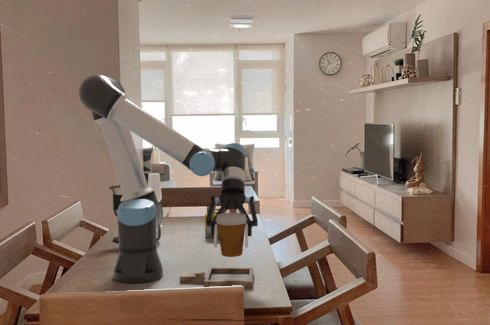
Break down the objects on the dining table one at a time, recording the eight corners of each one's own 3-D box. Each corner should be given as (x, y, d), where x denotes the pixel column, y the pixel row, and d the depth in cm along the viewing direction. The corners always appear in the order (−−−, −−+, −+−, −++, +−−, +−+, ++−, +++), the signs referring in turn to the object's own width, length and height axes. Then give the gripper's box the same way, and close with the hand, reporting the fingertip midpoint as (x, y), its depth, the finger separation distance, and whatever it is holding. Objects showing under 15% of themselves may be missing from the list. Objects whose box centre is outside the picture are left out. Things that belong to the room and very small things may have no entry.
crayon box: (205, 237, 217) (204, 209, 216) (207, 235, 219) (207, 208, 218) (222, 238, 215) (221, 210, 214) (224, 236, 218) (223, 209, 217)
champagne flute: (144, 226, 237) (143, 174, 235) (154, 224, 243) (153, 172, 241) (155, 228, 234) (154, 175, 231) (165, 225, 239) (164, 173, 237)
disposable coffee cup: (244, 259, 154) (243, 219, 153) (212, 257, 156) (211, 218, 155) (250, 250, 163) (249, 212, 162) (220, 249, 165) (219, 211, 164)
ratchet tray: (176, 287, 154) (176, 279, 153) (184, 273, 168) (184, 266, 167) (252, 288, 153) (252, 280, 153) (253, 273, 167) (253, 266, 167)
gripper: (266, 190, 173) (266, 251, 158) (201, 191, 173) (196, 251, 159) (265, 176, 167) (266, 238, 152) (199, 177, 168) (193, 238, 153)
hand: (230, 244), depth 156 cm, fingers closed on disposable coffee cup, 8 cm apart
